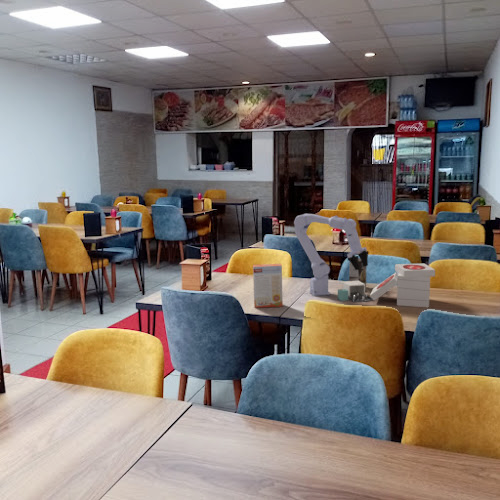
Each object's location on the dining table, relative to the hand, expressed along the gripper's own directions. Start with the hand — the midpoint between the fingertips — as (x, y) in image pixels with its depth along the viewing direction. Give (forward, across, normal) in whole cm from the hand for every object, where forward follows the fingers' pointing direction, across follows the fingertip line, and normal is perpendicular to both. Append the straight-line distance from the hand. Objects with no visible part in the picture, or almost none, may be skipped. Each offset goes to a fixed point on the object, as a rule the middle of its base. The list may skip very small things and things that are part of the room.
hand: (361, 267), depth 265 cm
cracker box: (+4, -42, +30) cm, 52 cm away
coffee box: (+13, +15, +17) cm, 26 cm away
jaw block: (+13, -9, +10) cm, 19 cm away
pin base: (+14, -1, +7) cm, 16 cm away
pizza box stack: (+22, +6, -13) cm, 26 cm away
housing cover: (+13, +1, +10) cm, 17 cm away
